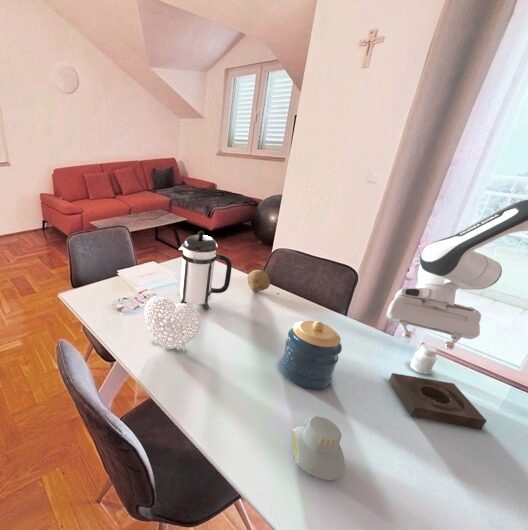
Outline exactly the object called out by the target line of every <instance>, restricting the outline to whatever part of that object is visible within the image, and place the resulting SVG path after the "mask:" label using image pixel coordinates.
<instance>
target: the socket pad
mask: <svg viewBox="0 0 528 530" xmlns="http://www.w3.org/2000/svg"><path fill="white" fill-rule="evenodd" d="M388 383H389V384H390V386H391V388H392V389H393V391H394V392H395V394H396V395H397V397H398V398H399V400H400V402H401V403H402V405H403V406H404V408H405V409H406V411H407V413H408V414H409V415H410V417H415V418H418V419H424V420H429V421H435V422H440V423H444V424H451V425H455V426H461V427H465V428H471V429H474V430H475V429H476V430H482V429H483V428H484V426H485V425H486V423H487V421H488V420H487V419H486V418H485V417H484V416H483V415H482V413H481V412H480V411H479V410H478V409H477V408H476V407H475V406H474V405H473V403H472V402H471V401H470V400H469V399H468V398H467V396H466V395H465V394H464V393H463V392H462V391H461V390H460V388H459V387H458V386H457V385H456V384H455V383H453V382H447V381H443V380H437V379H432V378H431V379H430V378H424V377H419V376H412V375H407V374H400V373H395V372H392V373H391V375H390V376H389V379H388ZM427 396H428V397H427ZM429 397H430V398H429ZM431 398H433V399H434V400H433V399H431ZM435 400H436V401H435ZM437 401H438V402H437Z"/></svg>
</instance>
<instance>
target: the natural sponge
mask: <svg viewBox="0 0 528 530" xmlns="http://www.w3.org/2000/svg"><path fill="white" fill-rule="evenodd" d="M247 284H248V287H249V288H250V290H251V292H252V293H253V292H254V293H259V292H261V291H265V290H267V289H269V287H270V286H271V280H270V277H269V275H268V274H267V273H266V271H264V270H262V269H254V270H252V271H250V272H249V273H248V274H247Z"/></svg>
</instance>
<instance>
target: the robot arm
mask: <svg viewBox="0 0 528 530" xmlns="http://www.w3.org/2000/svg"><path fill="white" fill-rule="evenodd" d="M518 232H519V233H520V232H528V199H523V200H520V201H517V202H514V203H511V204H509V205H507V206H505V207H503V208H501V209H499V210H497V211H495V212H493V213H491V214H489V215H487V216H485V217H484V218H481V219H480V220H478V221H476V222H474V223H472V224H470V225H468V226H466V227H465V228H462V229H460V230H459V231H457V232H455V233H453V234H450V235H448V236H446V237H442V238H440V239H438V240H437V239H436V240H435V241H433V242H431V243H429V244H427V245H426V246H425V247H424V248H422V250H421V252H420V254H419V267H418V271H417V280H418V282H417V284H416V286H415V287H409V288H408V287H403V288H400V289H399V290H398V291H397V292H396V293H395V295H394V299H393V300H392V301H391V302H390V303H389V305H388V308H387V310H386V316H385V317H386V318H387V319H388V320H389V321H393V322H396V323H399V328H400V329H401V331H402V338H406V339H410V338H411V337H412V331H409V329H408V328H407V326H408V325H410V326H413V327H417V328H422V329H426V330H430V331H434V332H438V333H441V334H446V335H450V339H451V340H450V341H449V340H447V341H445V342H444V347H443V348H444V349H447V350H454V349H455V344H456V343H457V342H458V341H460V340H461V339H466V340H474V339H476V338H478V337H479V336H480V335H481V326H480V322H481V319H482V314H481V312H480V311H479V310H477V309H476V308H474V307H471V306H466V305H462V304H457V303H455V300H456V293H457V290H458V289H460V290H483V289H487V288H490V287H492V286H493V285H495V284H496V283H497V282H498V281H499V280H500V278H501V277H502V273H503V269H502V265H501V263H499V262H498V261H497V260H495V259H493V258H491V257H489V256H487V255H485V254H482V253H480V252H477V251H475V250H477V249H479V248H482V247H483V246H485V245H488V244H490V243H492V242H494V241H496V240H498V239H500V238H502V237H505V236H508V235H510V234H514V233H518Z"/></svg>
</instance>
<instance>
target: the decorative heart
mask: <svg viewBox="0 0 528 530" xmlns="http://www.w3.org/2000/svg"><path fill="white" fill-rule="evenodd" d="M143 311H144V312H143V315H144V320H145V325H146V327H147V328H148V330H149V332H150V333H151V335H152V337H153V338H154V344H155V345H156V344H157V343H158V344H160V346H162V347H163V348H164V349H166V350H172V349H176V351H179V350H180V347H182V352H185V351H186V345H187V344H188V343H190V342H191V341H192V340H193V339H194V338H195V337H196V336H197V335H198V333H199V330H200V328H201V316H200V314H199V312H198V310H197V309H196V308H195V307H194V306H192V304H191V305H190V304H189V303H186V304H184V303H180V302H179V303H178V302H176V303H175V302H173V301H172V300H170V299H168V298H167V297H163V296H153V297H152V298H150V299H149V300H148V301H147V302H146V303H145V306H144V310H143Z"/></svg>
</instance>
